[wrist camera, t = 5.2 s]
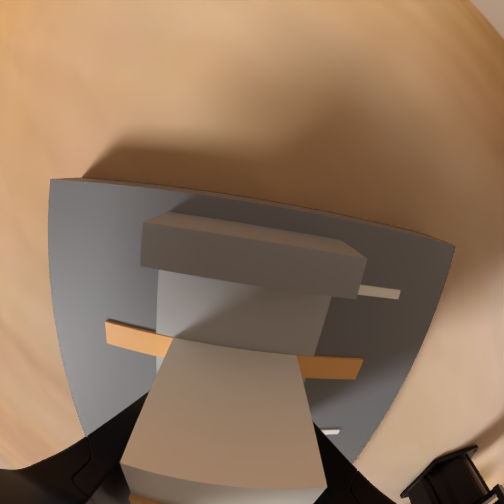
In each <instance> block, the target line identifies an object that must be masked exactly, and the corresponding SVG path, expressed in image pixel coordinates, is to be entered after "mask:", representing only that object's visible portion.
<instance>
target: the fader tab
mask: <svg viewBox="0 0 504 504" xmlns="http://www.w3.org/2000/svg"><path fill="white" fill-rule="evenodd" d="M120 465H121V468H122V470H123V473H124V476H125V479H126V481H127V484H128V486H129V489H130V491H131V493H130V496H129V501H130V503H131V504H313V503H314V502H315V501H316V500H317V499H318V497H319V496H320V495H321V494H322V493H323V492H324V490H325V489H326V488H327V483H326V479H325V474H324V470H323V465H322V461H321V456H320V452H319V448H318V443H317V439H316V434H315V430H314V426H313V422H312V417H311V413H310V409H309V405H308V400H307V396H306V392H305V388H304V384H303V380H302V375H301V371H300V367H299V363H298V359H297V355H287V354H278V353H269V352H260V351H252V350H245V349H238V348H231V347H224V346H218V345H212V344H206V343H200V342H195V341H190V340H184V339H179V338H174V337H173V340H172V342H171V344H170V346H169V348H168V351H167V353H166V355H165V357H164V359H163V362H162V364H161V366H160V368H159V371H158V373H157V375H156V377H155V380H154V382H153V384H152V387H151V389H150V391H149V393H148V396H147V398H146V400H145V403H144V405H143V407H142V410H141V412H140V415H139V417H138V419H137V422H136V424H135V426H134V429H133V431H132V434H131V436H130V439H129V441H128V444H127V446H126V448H125V451H124V453H123V456H122V458H121V461H120Z"/></svg>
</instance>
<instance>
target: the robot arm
mask: <svg viewBox="0 0 504 504" xmlns="http://www.w3.org/2000/svg"><path fill="white" fill-rule="evenodd" d="M148 393H149V391H148V392H147V393H146V394H144V395H143V396H141V397H140V398H139V399H137V400H136V401H135V402H133V403H132V404H131V405H129V406H128V407H127V408H125V409H124V410H122V411H121V412H120V413H118V414H117V415H116V416H114V417H113V418H111V419H110V420H109V421H107V422H106V423H104V424H103V425H102V426H100V427H99V428H97V429H96V430H94V431H93V432H91V433H90V434H89V435H87V437H84V438H83V439H81V440H80V441H78V442H77V443H75V444H73V445H72V446H70V447H69V448H67V449H65V450H63V451H61V452H59V453H57V454H55V455H53V456H51V457H49V458H47V459H45V460H42V461H40V462H38V463H36V464H33V465H31V466H29V467H26V468H22V469H17V470H7V469H0V504H131V503H130V501H129V496H130V493H131V491H130V489H129V486H128V484H127V481H126V479H125V476H124V473H123V470H122V468H121V465H120V461H121V458H122V456H123V453H124V451H125V448H126V446H127V444H128V441H129V439H130V436H131V434H132V431H133V429H134V426H135V424H136V422H137V419H138V417H139V415H140V412H141V410H142V407H143V405H144V403H145V400H146V398H147V396H148ZM312 422H313V426H314V430H315V434H316V439H317V443H318V448H319V452H320V456H321V461H322V465H323V470H324V474H325V479H326V483H327V488H326V489H325V490H324V492H323V493H322V494H321V495H320V496H319V497H318V499H317V500H316V501H315V502H314V503H313V504H396V503H395V502H394V501H392V500H391V499H390V498H388V497H387V496H386V495H384V494H383V493H382V492H381V491H379V490H378V489H377V488H376V487H375V486H373V485H372V484H371V483H370V482H369V481H368V480H367V479H366V478H365V477H364V476H363V475H362V474H361V473H360V472H359V471H357V469H356V468H355V467H354V466H353V465H352V463H351V462H350V461H349V460H348V459H347V458H346V457H345V456H344V455H343V454H342V453H341V452H340V451H339V449H338V448H337V447H336V446H335V445H334V444H333V443H332V442H331V441H330V440H329V438H328V437H327V436H326V435H325V434H324V433H323V432H322V431H321V429H320V428H319V427H318V426H317V425H316V424H315V423H314V421H313V420H312ZM478 449H479V447H478V446H477V445H475V446H472V447H470V448H467V449H465V450H462V451H460V452H457V453H454V454H451V455H448V456H445V457H442V458H439V459H437V460H435V461H434V462H432V463H431V465H430V466H429V467H428V468H427V469H426V470H425V471H424V472H423V473H422V474H421V475H420V476H419V477H418V478H417V479H416V480H415V481H414V482H413V483H412V484H411V485H410V486H409V487H408V488H407V489H406V490H405V491H404V492H403V493H401V494H400V497H401V498H406V497H409V499H410V501H411V504H488V503H489V502H491V501H492V500H493V499H494V498H496V497H498V500H497V501H496V502H495V503H493V504H504V488H503V486H502V485H499V484H497V485H496V486H495V487H493V489H492V490H491V491H490V490H489V488H488V486H487V485H486V483H485V481H484V480H483V478H482V476H481V475H480V473H479V471H478V470H477V468H476V466H475V465H474V463H473V462H472V460H471V457H472V456H473V454H474V453H475V452H476V451H477V450H478Z"/></svg>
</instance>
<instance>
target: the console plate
mask: <svg viewBox="0 0 504 504" xmlns="http://www.w3.org/2000/svg"><path fill="white" fill-rule="evenodd" d="M454 249H455V246H454V245H452V244H449V243H447V242H444V241H441V240H439V239H436V238H434V237H431V236H428V235H425V234H422V233H418V232H414V231H410V230H406V229H402V228H398V227H393V226H389V225H385V224H381V223H376V222H372V221H368V220H363V219H359V218H354V217H349V216H345V215H340V214H335V213H330V212H325V211H320V210H315V209H310V208H305V207H300V206H294V205H289V204H283V203H278V202H272V201H266V200H260V199H254V198H248V197H242V196H236V195H229V194H222V193H216V192H209V191H202V190H194V189H187V188H179V187H171V186H163V185H154V184H145V183H136V182H126V181H115V180H104V179H92V178H64V179H50V192H49V211H48V252H49V271H50V284H51V294H52V303H53V311H54V318H55V324H56V330H57V336H58V341H59V346H60V351H61V356H62V360H63V365H64V369H65V373H66V377H67V380H68V384H69V388H70V391H71V395H72V398H73V401H74V405H75V408H76V411H77V414H78V417H79V420H80V422H81V425H82V428H83V431H84V433H85V436H86V437H87V435H89V434H90V433H91V432H93V431H94V430H96V429H97V428H99V427H100V426H102V425H103V424H104V423H106V422H107V421H109V420H110V419H111V418H113V417H114V416H116V415H117V414H118V413H120V412H121V411H122V410H124V409H125V408H127V407H128V406H129V405H131V404H132V403H133V402H135V401H136V400H137V399H139V398H140V397H141V396H143V395H144V394H146V393H147V392H148V391H150V389H151V387H152V384H153V382H154V380H155V377H156V375H157V373H158V371H159V368H160V366H161V364H162V362H163V359H164V357H165V355H166V353H167V351H168V348H169V346H170V344H171V342H172V340H173V337H174V338H179V339H184V340H190V341H195V342H200V343H206V344H212V345H218V346H224V347H231V348H238V349H245V350H252V351H260V352H269V353H278V354H287V355H297V359H298V363H299V367H300V371H301V375H302V380H303V384H304V388H305V392H306V396H307V400H308V405H309V409H310V413H311V417H312V420H313V421H314V423H315V424H316V425H317V426H318V427H319V428H320V429H321V431H322V432H323V433H324V434H325V435H326V436H327V437H328V438H329V440H330V441H331V442H332V443H333V444H334V445H335V446H336V447H337V448H338V449H339V451H340V452H341V453H342V454H343V455H344V456H345V457H346V458H347V459H348V460H349V461H350V462H351V463H353V462H354V460H355V459H356V458H357V456H358V455H359V454H360V452H361V451H362V449H363V448H364V447H365V445H366V444H367V442H368V441H369V439H370V438H371V436H372V435H373V433H374V432H375V430H376V429H377V427H378V426H379V424H380V422H381V421H382V419H383V418H384V416H385V414H386V413H387V411H388V409H389V408H390V406H391V404H392V402H393V401H394V399H395V397H396V395H397V394H398V392H399V390H400V388H401V386H402V384H403V382H404V381H405V379H406V377H407V375H408V373H409V371H410V369H411V367H412V365H413V362H414V360H415V358H416V356H417V354H418V352H419V350H420V347H421V345H422V343H423V340H424V338H425V336H426V333H427V331H428V328H429V326H430V323H431V321H432V318H433V316H434V313H435V310H436V308H437V305H438V302H439V299H440V296H441V293H442V290H443V287H444V284H445V281H446V278H447V275H448V271H449V268H450V264H451V261H452V257H453V253H454Z"/></svg>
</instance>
